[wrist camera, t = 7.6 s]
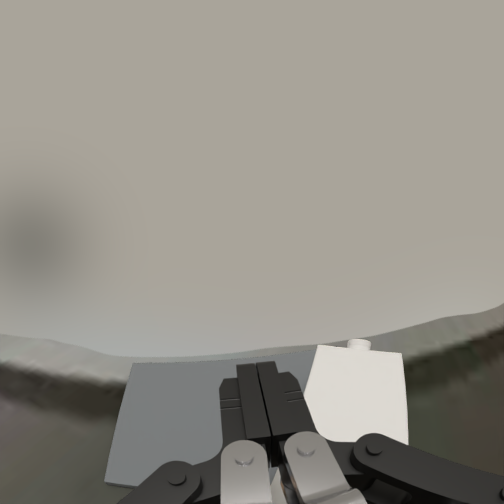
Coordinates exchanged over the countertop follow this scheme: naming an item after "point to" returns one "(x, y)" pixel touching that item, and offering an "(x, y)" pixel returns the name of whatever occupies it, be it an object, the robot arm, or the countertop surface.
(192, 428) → the mat
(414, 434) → the countertop surface
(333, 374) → the milk carton
